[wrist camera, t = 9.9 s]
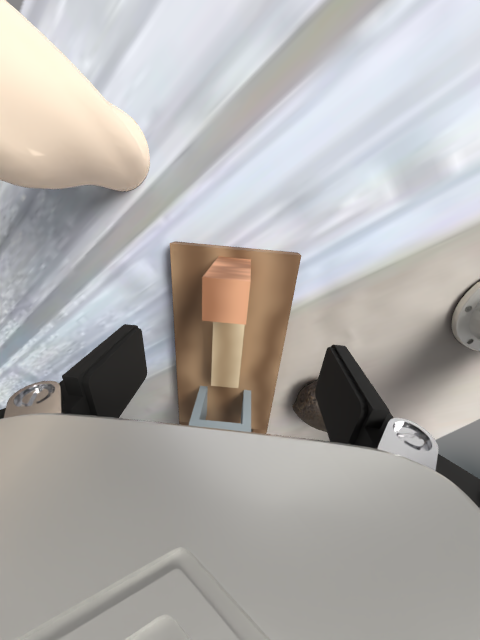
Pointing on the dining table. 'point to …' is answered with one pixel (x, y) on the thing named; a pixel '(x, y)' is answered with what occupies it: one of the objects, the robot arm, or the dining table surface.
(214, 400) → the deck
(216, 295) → the l-shaped wooden block
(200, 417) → the tunnel
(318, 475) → the robot arm
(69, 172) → the water bottle
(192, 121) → the dining table surface
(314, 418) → the stone
